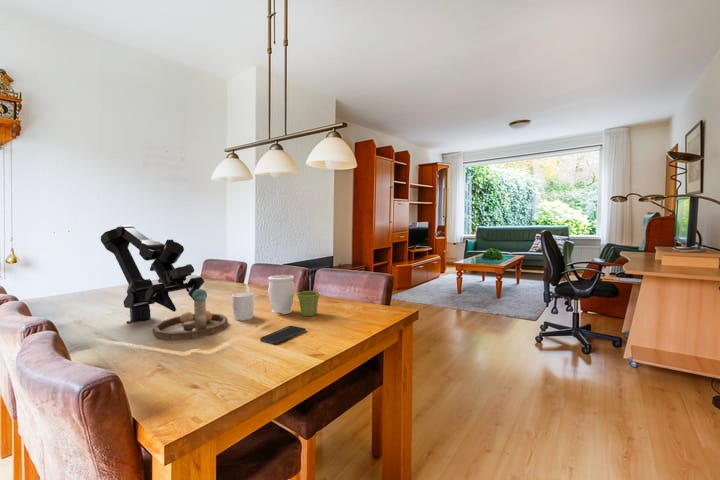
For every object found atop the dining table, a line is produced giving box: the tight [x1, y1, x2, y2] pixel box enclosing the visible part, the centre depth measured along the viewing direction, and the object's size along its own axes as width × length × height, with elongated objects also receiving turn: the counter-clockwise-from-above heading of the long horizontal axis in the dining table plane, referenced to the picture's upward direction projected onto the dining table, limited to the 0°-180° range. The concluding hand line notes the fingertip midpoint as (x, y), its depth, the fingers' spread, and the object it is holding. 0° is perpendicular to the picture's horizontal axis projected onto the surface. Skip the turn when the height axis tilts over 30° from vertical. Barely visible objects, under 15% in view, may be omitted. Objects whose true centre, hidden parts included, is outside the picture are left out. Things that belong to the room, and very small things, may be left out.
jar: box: [267, 274, 295, 316], centre depth 139 cm, size 11×10×15 cm
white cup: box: [231, 291, 255, 321], centre depth 128 cm, size 8×8×10 cm
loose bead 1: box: [179, 311, 194, 324], centre depth 121 cm, size 4×4×4 cm
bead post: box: [191, 288, 209, 331], centre depth 111 cm, size 5×5×15 cm
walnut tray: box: [152, 312, 229, 341], centre depth 116 cm, size 22×22×3 cm
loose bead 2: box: [206, 310, 212, 323], centre depth 122 cm, size 4×4×4 cm
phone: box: [259, 325, 307, 346], centre depth 111 cm, size 8×1×15 cm
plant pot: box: [296, 290, 321, 317], centre depth 136 cm, size 9×9×9 cm
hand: (188, 307), depth 114 cm, fingers open, 9 cm apart
